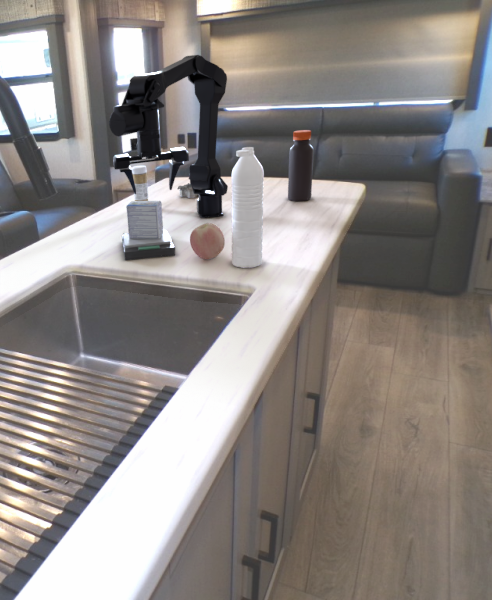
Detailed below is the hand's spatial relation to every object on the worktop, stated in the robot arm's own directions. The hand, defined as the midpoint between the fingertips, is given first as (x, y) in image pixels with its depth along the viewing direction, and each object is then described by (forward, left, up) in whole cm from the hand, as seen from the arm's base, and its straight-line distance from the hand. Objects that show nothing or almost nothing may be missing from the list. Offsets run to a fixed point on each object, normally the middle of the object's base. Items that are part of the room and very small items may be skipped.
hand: (152, 191), depth 139 cm
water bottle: (-17, +29, -12) cm, 35 cm away
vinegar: (-47, -23, -12) cm, 54 cm away
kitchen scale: (+3, +11, -12) cm, 16 cm away
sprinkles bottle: (+1, -30, -12) cm, 33 cm away
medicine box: (+3, +9, -9) cm, 13 cm away
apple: (-10, +22, -12) cm, 27 cm away
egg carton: (-18, -43, -12) cm, 48 cm away
